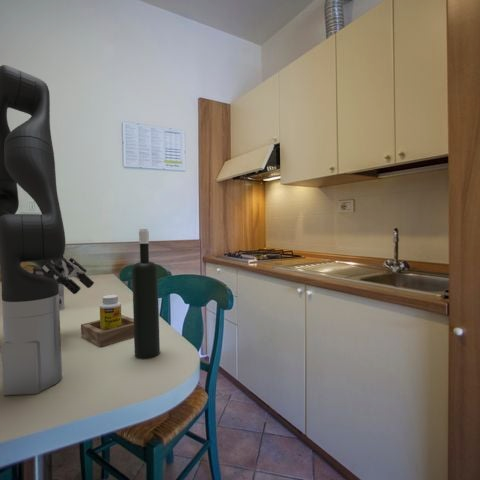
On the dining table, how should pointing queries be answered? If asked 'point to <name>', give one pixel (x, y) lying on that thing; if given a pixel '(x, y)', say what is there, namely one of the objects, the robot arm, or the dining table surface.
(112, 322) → the supplement bottle
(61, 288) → the coffee box
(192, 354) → the dining table surface
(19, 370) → the robot arm
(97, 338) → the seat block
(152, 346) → the wine bottle
